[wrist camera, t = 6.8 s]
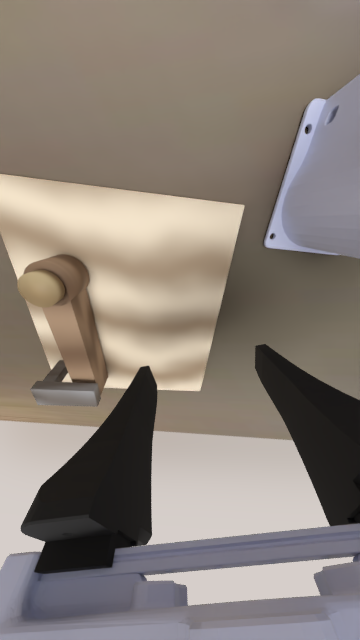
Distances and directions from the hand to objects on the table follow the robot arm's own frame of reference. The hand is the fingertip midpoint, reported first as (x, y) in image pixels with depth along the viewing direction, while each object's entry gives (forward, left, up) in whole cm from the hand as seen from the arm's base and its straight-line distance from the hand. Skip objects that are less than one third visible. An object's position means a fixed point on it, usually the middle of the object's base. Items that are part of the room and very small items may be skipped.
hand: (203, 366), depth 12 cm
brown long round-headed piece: (+3, -12, -8) cm, 14 cm away
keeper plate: (+2, -7, -9) cm, 12 cm away
